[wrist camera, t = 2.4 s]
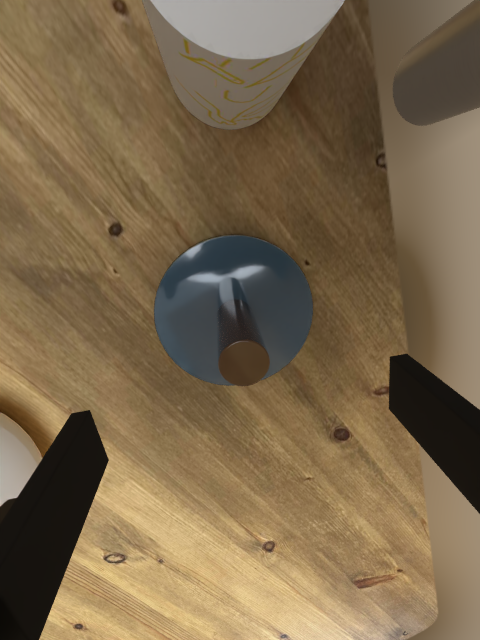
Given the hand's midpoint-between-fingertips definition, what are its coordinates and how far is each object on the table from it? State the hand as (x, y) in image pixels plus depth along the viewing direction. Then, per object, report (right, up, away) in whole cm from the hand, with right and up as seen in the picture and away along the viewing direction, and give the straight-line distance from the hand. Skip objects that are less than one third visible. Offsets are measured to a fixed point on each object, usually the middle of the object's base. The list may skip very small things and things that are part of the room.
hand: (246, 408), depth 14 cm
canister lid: (-1, +4, +12) cm, 13 cm away
